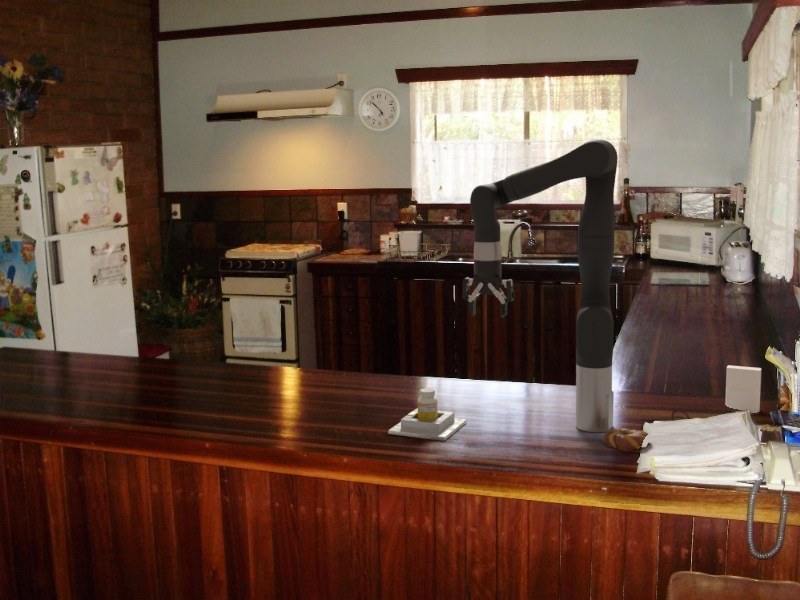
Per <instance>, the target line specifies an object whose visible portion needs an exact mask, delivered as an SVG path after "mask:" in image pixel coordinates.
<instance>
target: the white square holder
mask: <svg viewBox="0 0 800 600" xmlns="http://www.w3.org/2000/svg"><path fill="white" fill-rule="evenodd" d="M466 424H467V419H466V418H457V417H455V411H446V410H439V409H438V419H437V420H436V421H431V420H422V419H418V407H417V408H415V409H414V410H412V411H410V412H409V413H407V415H405V416H404V417H402V418H401V419H400V422H398V423H397V424H395V425H394V426H392V427H391V428H390V429H389V430H388V435H393V436H394V435H395V436H402V437H403V436H404V437H409V438H418V439H419V438H420V439H428V440H433V441H434V440H435V441H442V442H443V441H444V442H445V441H447V440H448V439H449V438H450V437H452V435H453V434H455V433H456V432H457V431H458V430H460V429H461V428H462V427H464V425H466Z"/></svg>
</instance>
